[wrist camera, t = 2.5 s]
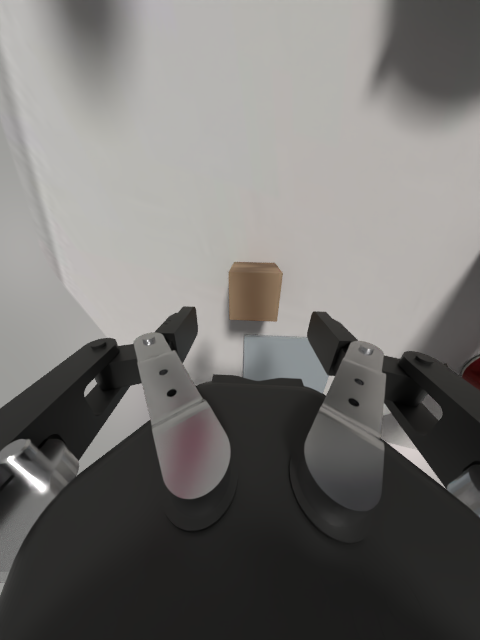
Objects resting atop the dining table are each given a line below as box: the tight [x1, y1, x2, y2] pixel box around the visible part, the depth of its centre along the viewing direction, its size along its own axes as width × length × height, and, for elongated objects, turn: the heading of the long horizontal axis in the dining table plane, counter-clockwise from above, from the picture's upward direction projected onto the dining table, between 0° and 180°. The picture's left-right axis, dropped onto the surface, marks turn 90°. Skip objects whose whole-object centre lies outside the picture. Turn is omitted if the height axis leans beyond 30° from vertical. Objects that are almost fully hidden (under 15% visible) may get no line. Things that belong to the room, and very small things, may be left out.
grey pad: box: [243, 335, 329, 394], centre depth 29 cm, size 14×14×1 cm
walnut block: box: [229, 262, 283, 321], centre depth 20 cm, size 5×5×6 cm
